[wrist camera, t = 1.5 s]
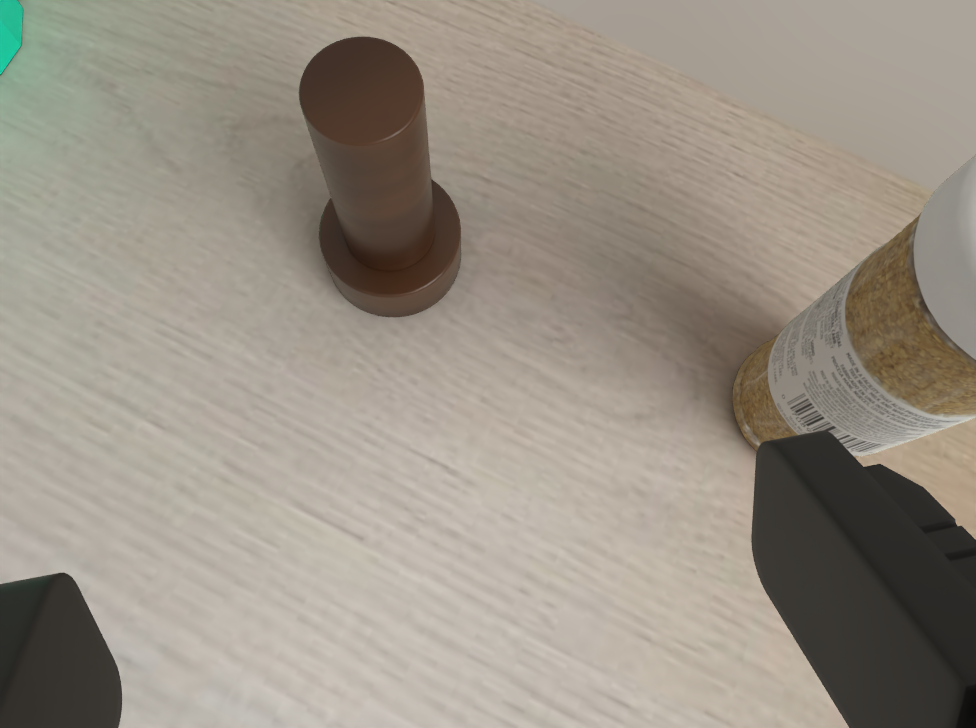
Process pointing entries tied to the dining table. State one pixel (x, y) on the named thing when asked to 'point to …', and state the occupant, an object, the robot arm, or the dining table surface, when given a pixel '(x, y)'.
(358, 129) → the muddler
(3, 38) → the candle
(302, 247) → the dining table surface
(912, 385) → the sprinkles bottle
